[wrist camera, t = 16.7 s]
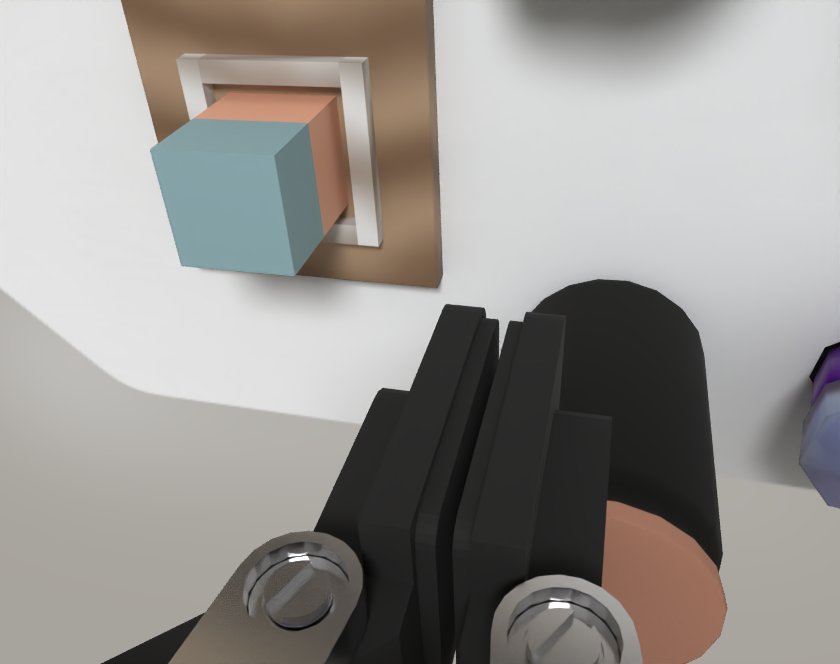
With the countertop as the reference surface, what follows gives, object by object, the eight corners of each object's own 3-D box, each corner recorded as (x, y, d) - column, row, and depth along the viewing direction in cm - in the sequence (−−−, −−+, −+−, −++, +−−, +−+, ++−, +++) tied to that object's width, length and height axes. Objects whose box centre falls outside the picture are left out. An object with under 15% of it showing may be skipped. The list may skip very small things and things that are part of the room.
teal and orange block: (229, 92, 40) (149, 149, 33) (336, 95, 38) (274, 155, 32) (250, 196, 43) (181, 266, 37) (348, 203, 42) (294, 276, 35)
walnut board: (134, -15, 39) (107, -5, 37) (432, -16, 35) (419, -5, 33) (201, 253, 48) (182, 273, 46) (442, 274, 45) (433, 296, 43)
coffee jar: (532, 415, 49) (484, 666, 35) (505, 276, 44) (435, 508, 29) (705, 413, 46) (729, 691, 32) (700, 261, 40) (726, 516, 26)
